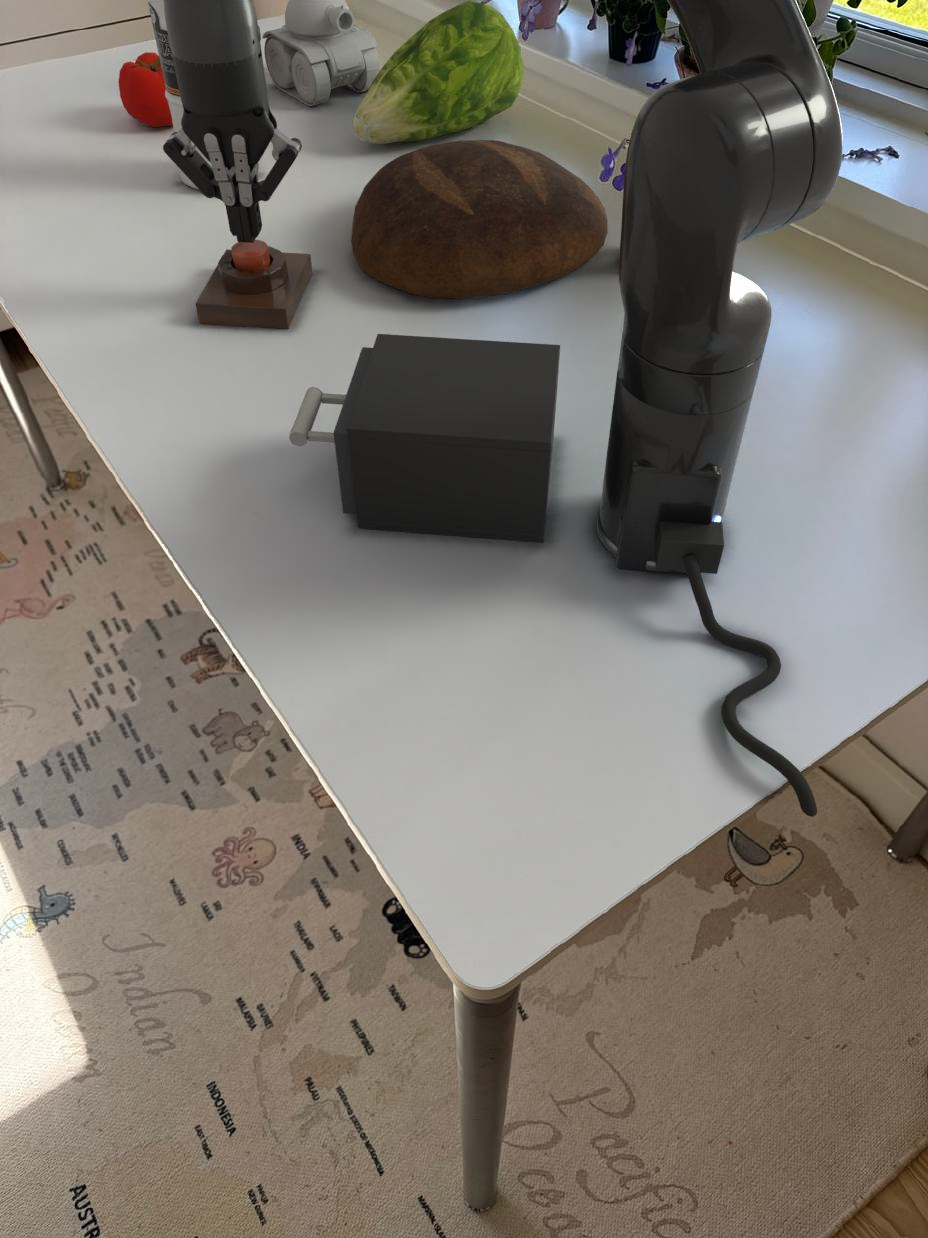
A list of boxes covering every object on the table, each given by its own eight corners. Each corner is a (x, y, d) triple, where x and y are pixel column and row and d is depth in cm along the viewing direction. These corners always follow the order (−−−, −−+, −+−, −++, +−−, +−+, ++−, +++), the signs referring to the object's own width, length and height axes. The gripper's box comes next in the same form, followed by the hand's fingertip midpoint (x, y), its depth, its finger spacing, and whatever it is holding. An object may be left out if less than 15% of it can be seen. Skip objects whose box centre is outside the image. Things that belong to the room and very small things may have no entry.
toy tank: (386, 96, 139) (380, -11, 129) (321, 115, 134) (310, 6, 125) (328, 65, 147) (318, -37, 137) (265, 82, 142) (250, -23, 133)
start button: (265, 274, 98) (262, 257, 97) (229, 272, 99) (226, 255, 97) (274, 256, 101) (272, 239, 100) (239, 254, 101) (236, 237, 100)
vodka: (264, 186, 120) (218, -120, 98) (186, 199, 118) (121, -112, 96) (248, 156, 126) (201, -140, 104) (173, 167, 124) (109, -133, 101)
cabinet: (357, 528, 79) (346, 428, 72) (384, 431, 87) (377, 333, 80) (543, 543, 78) (551, 442, 70) (553, 443, 86) (560, 344, 79)
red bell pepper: (147, 140, 129) (133, 77, 124) (116, 119, 134) (101, 57, 128) (212, 121, 133) (201, 60, 128) (179, 101, 138) (167, 41, 132)
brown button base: (288, 329, 98) (282, 291, 95) (199, 323, 99) (191, 286, 96) (313, 273, 106) (308, 236, 103) (229, 268, 107) (223, 232, 104)
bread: (534, 169, 123) (537, 93, 116) (655, 270, 106) (667, 188, 99) (312, 216, 114) (303, 137, 108) (406, 334, 98) (402, 248, 91)
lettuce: (345, 170, 133) (308, 66, 123) (481, 90, 139) (456, -15, 129) (403, 194, 124) (369, 83, 114) (546, 107, 129) (525, -5, 120)
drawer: (289, 509, 79) (275, 428, 73) (320, 422, 87) (309, 343, 81) (514, 527, 77) (518, 445, 72) (526, 437, 85) (530, 356, 79)
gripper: (124, 56, 83) (170, 253, 96) (281, 62, 82) (306, 261, 95) (154, 25, 88) (193, 217, 101) (301, 31, 87) (322, 224, 100)
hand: (248, 238), depth 98 cm, fingers closed
